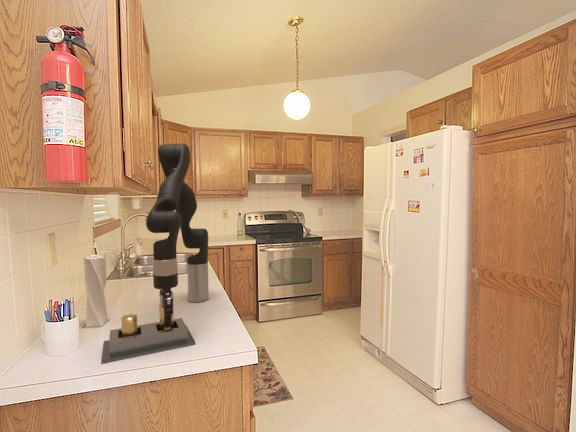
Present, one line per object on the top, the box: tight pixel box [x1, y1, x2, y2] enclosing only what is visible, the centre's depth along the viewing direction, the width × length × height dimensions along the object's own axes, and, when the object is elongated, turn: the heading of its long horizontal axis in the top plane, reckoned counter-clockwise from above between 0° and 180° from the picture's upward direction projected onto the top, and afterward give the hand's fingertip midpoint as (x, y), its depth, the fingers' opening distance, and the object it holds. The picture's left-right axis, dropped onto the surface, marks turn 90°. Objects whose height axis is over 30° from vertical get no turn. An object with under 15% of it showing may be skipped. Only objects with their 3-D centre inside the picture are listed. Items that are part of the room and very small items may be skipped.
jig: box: [101, 313, 196, 365], centre depth 103 cm, size 15×26×10 cm, turn 117°
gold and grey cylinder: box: [158, 303, 175, 331], centre depth 105 cm, size 4×4×9 cm
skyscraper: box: [81, 250, 110, 329], centre depth 120 cm, size 8×8×28 cm
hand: (167, 323), depth 106 cm, fingers closed on gold and grey cylinder, 4 cm apart
